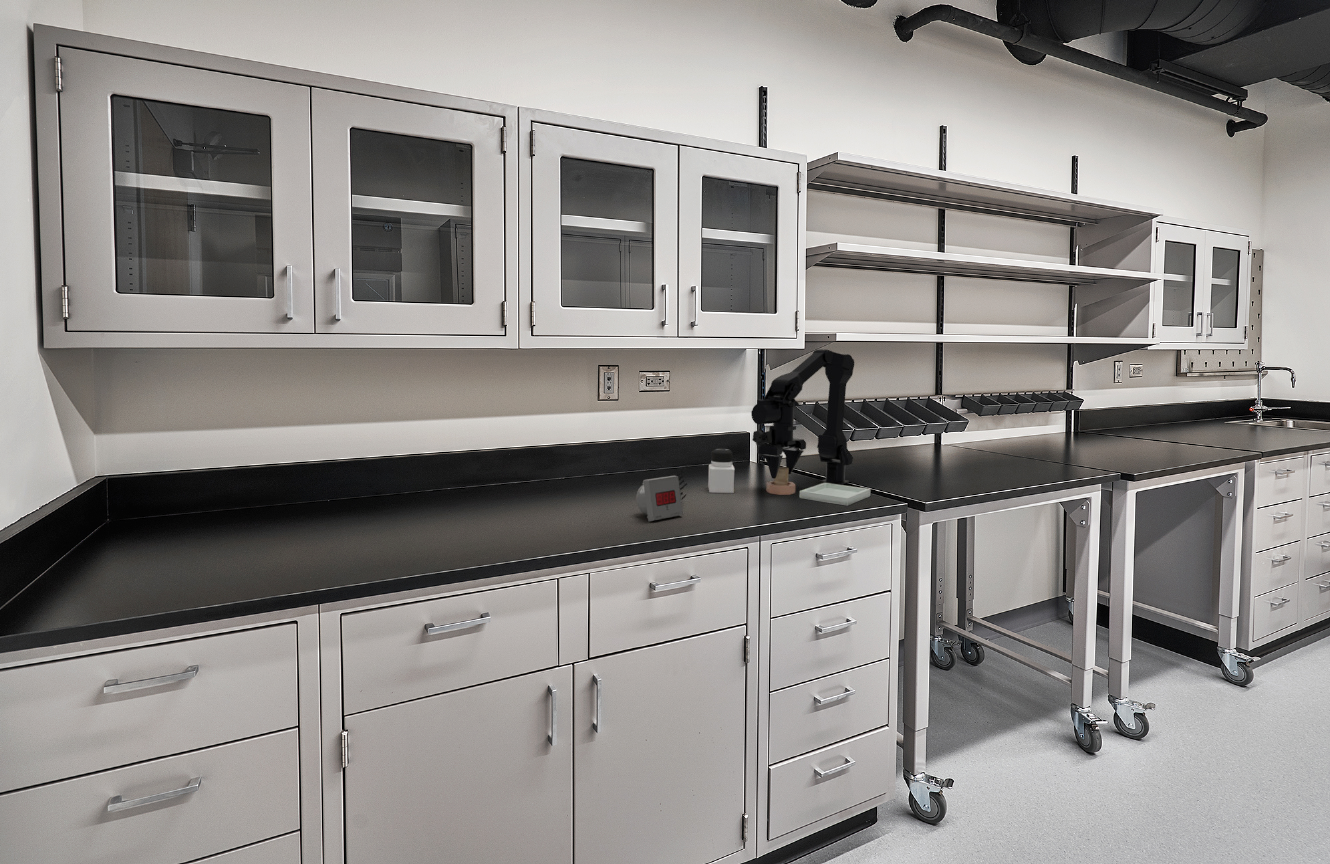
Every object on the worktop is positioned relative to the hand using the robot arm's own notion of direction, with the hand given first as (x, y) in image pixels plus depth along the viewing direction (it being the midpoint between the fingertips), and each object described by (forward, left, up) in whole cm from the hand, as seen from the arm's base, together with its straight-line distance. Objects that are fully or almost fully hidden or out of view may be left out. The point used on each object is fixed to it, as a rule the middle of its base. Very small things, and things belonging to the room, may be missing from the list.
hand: (781, 476), depth 201 cm
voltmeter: (+40, -10, -5) cm, 41 cm away
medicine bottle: (+10, -14, -5) cm, 18 cm away
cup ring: (0, 0, -5) cm, 5 cm away
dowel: (0, 0, -5) cm, 5 cm away
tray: (-4, +15, -5) cm, 16 cm away
